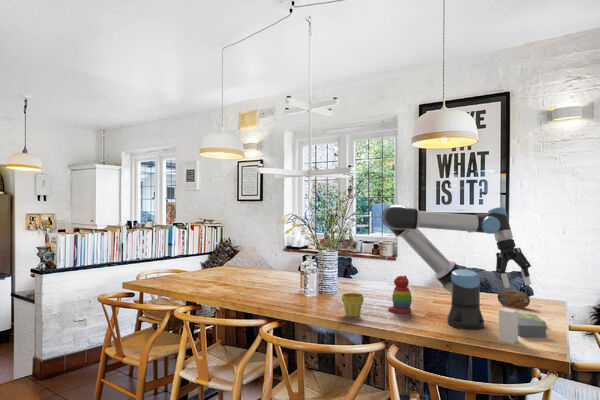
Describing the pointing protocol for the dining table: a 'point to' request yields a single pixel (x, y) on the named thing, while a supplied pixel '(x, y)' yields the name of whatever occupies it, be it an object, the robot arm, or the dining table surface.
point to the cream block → (508, 325)
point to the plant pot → (352, 303)
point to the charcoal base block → (531, 328)
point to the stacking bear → (401, 296)
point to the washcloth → (531, 317)
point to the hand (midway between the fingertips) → (517, 286)
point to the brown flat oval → (513, 298)
